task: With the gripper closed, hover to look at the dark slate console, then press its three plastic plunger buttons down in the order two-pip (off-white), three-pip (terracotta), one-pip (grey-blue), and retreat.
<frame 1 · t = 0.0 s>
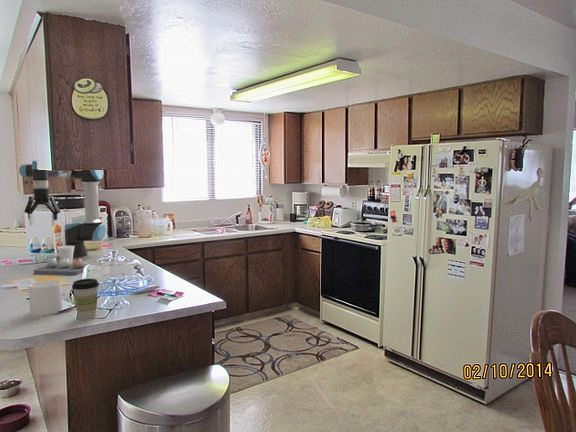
hand: (43, 225, 237), 28 cm above the countertop, fingers open, 13 cm apart
coffee cup: (87, 317, 169), on the countertop
button three: (77, 262, 245), point 5 cm above the countertop, slide at 0.0 cm
button one: (51, 262, 246), point 5 cm above the countertop, slide at 0.0 cm
console: (64, 270, 246), on the countertop
button two: (64, 262, 246), point 5 cm above the countertop, slide at 0.0 cm
cup: (66, 264, 264), on the countertop
cup 2: (46, 312, 176), on the countertop
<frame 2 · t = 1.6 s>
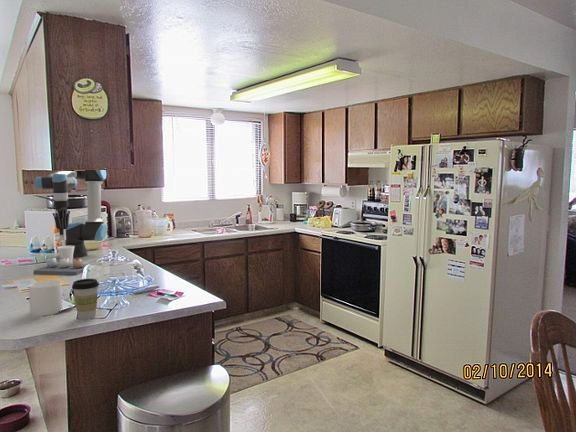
hand: (63, 240, 244), 18 cm above the countertop, fingers closed
nothing on the countertop moved.
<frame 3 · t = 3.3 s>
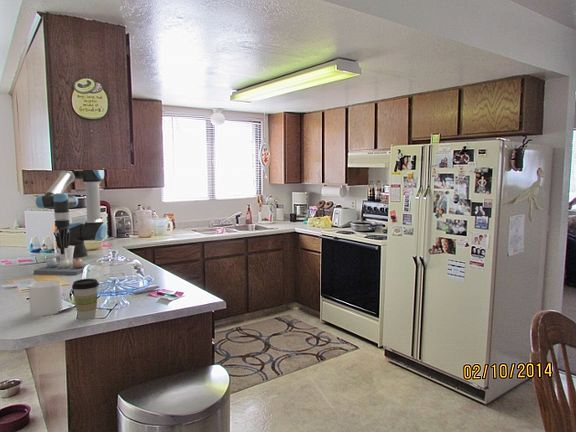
hand: (64, 259, 245), 7 cm above the countertop, fingers closed
button two: (64, 263, 246), point 4 cm above the countertop, slide at 0.6 cm, touching gripper
everything else where it was.
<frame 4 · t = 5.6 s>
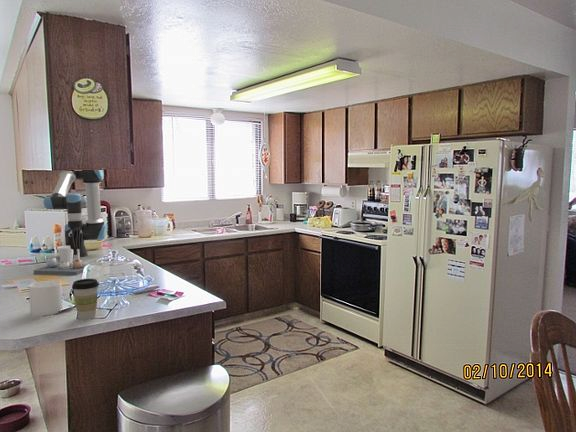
hand: (76, 259, 245), 7 cm above the countertop, fingers closed
button three: (77, 264, 245), point 4 cm above the countertop, slide at 0.8 cm, touching gripper
button two: (64, 265, 246), point 3 cm above the countertop, slide at 2.1 cm
everything else where it was.
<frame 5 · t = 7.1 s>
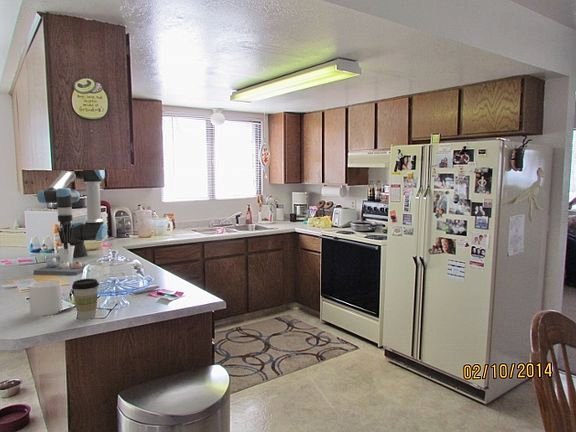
hand: (67, 254, 245), 10 cm above the countertop, fingers closed
button three: (77, 266, 245), point 3 cm above the countertop, slide at 2.1 cm
everything else where it was.
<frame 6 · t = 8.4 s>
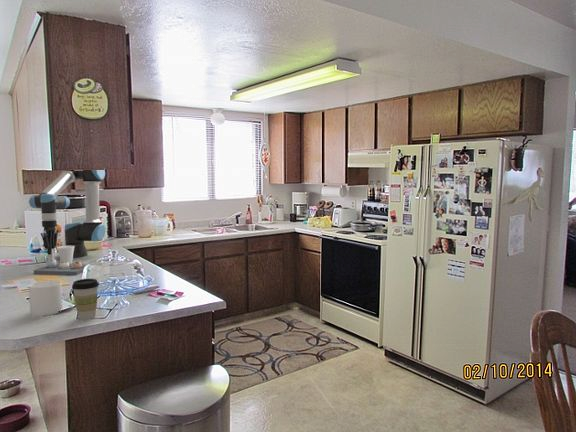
hand: (51, 259, 246), 7 cm above the countertop, fingers closed
button one: (51, 263, 247), point 4 cm above the countertop, slide at 1.0 cm, touching gripper
everything else where it was.
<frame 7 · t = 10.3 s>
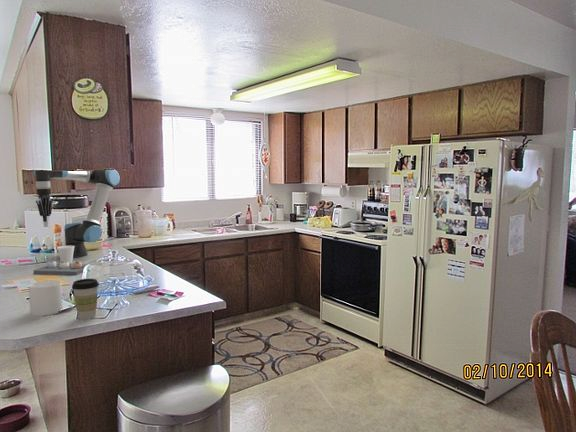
hand: (46, 226, 255), 25 cm above the countertop, fingers closed
button one: (51, 265, 247), point 3 cm above the countertop, slide at 2.1 cm
everything else where it was.
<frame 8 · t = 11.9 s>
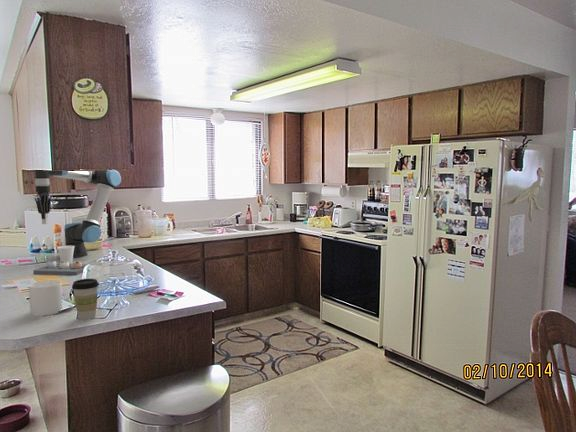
hand: (45, 224, 255), 26 cm above the countertop, fingers closed
nothing on the countertop moved.
at the end: button two slide at 2.1 cm; button three slide at 2.1 cm; button one slide at 2.1 cm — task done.
